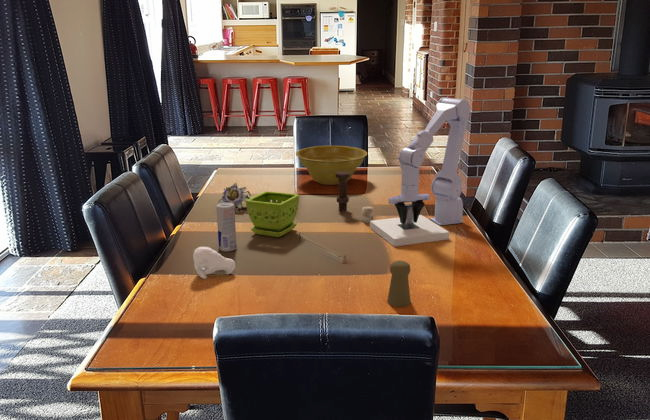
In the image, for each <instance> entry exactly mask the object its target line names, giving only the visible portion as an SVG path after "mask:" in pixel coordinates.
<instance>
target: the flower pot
mask: <svg viewBox="0 0 650 420" xmlns="http://www.w3.org/2000/svg"><path fill="white" fill-rule="evenodd" d="M299 200H300V195H299V194H297V193H289V192H287V193H286V192H279V191H278V192H277V191H263V192H261V193H258V194H256V195H255V196H252V197H250V199H248V200H247V201H246V202H245V205H246V211H247V214H248V218H249V219H250V221H251V223H252V225H253V227H251V228H250V230H251V232H252V233H254V234H255V235H259V236H262V235H263V236H268V237H273V238H274V237H275V238H280V237H283V236H284V235H286V234H288V233H289V232H291V231H292V230H294V228H296V227H297V222H294V221H295V219H296V217H297V214H298V209H299V203H300V201H299Z"/></svg>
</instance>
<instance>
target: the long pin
mask: <svg viewBox="0 0 650 420" xmlns="http://www.w3.org/2000/svg"><path fill="white" fill-rule="evenodd" d="M404 204H405V205H406V206H407V209H406V214H405V224H402V229H404V230H409V229H414V209H415V205H413V204H412V203H404Z"/></svg>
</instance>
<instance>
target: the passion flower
mask: <svg viewBox="0 0 650 420" xmlns="http://www.w3.org/2000/svg"><path fill="white" fill-rule="evenodd" d="M246 190H247V186H243V187H240V188H239V185H238V182H234V183H233V185H231V186H228V187H227V186H226V187H225V188H224V187H223V192H222V195H221V196H222V197H221V199H219V200H218V202H217V203H218V204H219V203H226V202H228V203H233V204H234V209H236V207H237V208H238V209H242V207H243V202H245V203H246V201H247V200H248V199H250V198H251V196H252V194H251V193H250V191H249V190H247V191H246Z"/></svg>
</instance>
